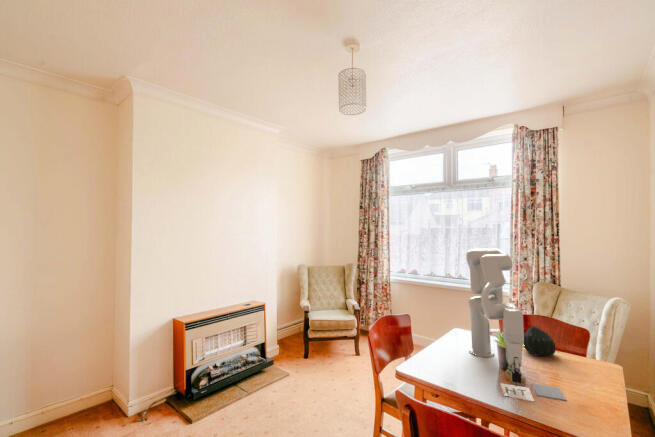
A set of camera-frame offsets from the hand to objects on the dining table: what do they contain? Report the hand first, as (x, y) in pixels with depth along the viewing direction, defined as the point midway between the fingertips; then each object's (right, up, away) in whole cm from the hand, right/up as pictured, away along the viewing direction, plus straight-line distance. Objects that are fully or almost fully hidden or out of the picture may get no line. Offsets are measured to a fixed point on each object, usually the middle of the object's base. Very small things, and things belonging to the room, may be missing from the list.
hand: (515, 376), depth 129 cm
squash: (+36, -7, +37) cm, 52 cm away
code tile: (0, -6, -1) cm, 6 cm away
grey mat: (+14, -6, -1) cm, 15 cm away
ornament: (0, -3, 0) cm, 3 cm away
